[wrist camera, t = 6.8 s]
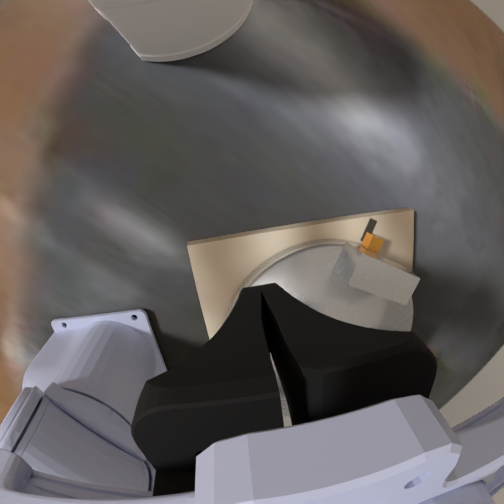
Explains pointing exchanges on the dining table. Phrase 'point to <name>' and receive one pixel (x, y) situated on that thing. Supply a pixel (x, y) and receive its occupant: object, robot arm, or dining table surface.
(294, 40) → the dining table surface
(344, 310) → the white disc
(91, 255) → the dining table surface
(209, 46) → the jar
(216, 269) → the nut base
